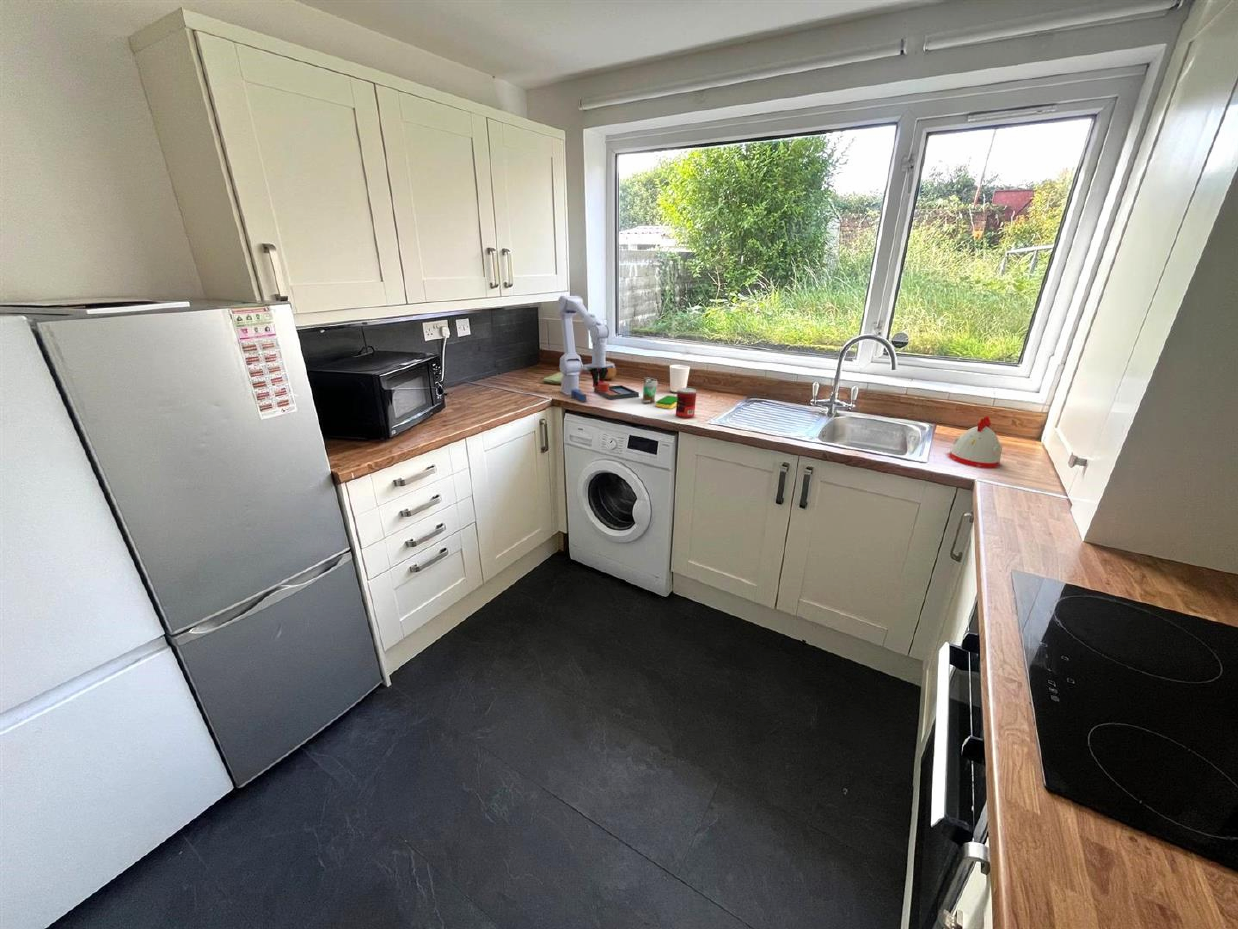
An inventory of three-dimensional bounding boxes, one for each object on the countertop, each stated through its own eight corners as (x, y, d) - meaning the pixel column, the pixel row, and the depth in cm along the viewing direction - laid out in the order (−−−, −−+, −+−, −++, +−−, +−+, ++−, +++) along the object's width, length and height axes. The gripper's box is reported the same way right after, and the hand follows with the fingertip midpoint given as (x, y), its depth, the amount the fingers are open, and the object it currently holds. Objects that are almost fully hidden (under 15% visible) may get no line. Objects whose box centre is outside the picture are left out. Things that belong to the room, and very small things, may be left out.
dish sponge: (655, 406, 219) (656, 401, 218) (666, 400, 231) (667, 395, 230) (670, 409, 216) (671, 403, 215) (681, 402, 228) (681, 397, 227)
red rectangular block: (601, 392, 212) (601, 384, 211) (590, 387, 221) (590, 379, 220) (610, 392, 214) (611, 384, 213) (599, 386, 223) (599, 378, 222)
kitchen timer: (941, 457, 169) (953, 414, 163) (959, 450, 176) (972, 409, 171) (988, 470, 158) (1003, 425, 153) (1005, 462, 166) (1020, 419, 160)
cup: (691, 391, 248) (693, 366, 244) (682, 395, 241) (684, 369, 236) (673, 388, 253) (675, 363, 249) (664, 392, 245) (666, 366, 241)
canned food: (695, 414, 209) (698, 388, 205) (692, 419, 202) (694, 392, 198) (677, 412, 211) (679, 386, 207) (673, 417, 204) (675, 390, 200)
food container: (657, 405, 222) (658, 382, 218) (643, 404, 222) (644, 382, 218) (656, 398, 233) (657, 377, 230) (642, 397, 233) (644, 376, 230)
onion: (596, 381, 265) (596, 362, 261) (600, 377, 274) (600, 359, 270) (614, 382, 263) (614, 363, 260) (617, 378, 273) (618, 360, 269)
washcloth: (541, 383, 256) (541, 376, 255) (559, 377, 271) (559, 371, 270) (563, 386, 251) (563, 380, 250) (580, 380, 266) (580, 374, 264)
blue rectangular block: (578, 395, 233) (578, 388, 232) (588, 401, 224) (588, 394, 222) (569, 396, 231) (569, 389, 230) (579, 402, 222) (579, 395, 220)
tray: (610, 399, 228) (610, 395, 227) (594, 391, 242) (594, 387, 241) (638, 396, 235) (639, 392, 234) (621, 389, 249) (621, 385, 248)
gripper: (587, 356, 207) (587, 388, 212) (618, 354, 214) (617, 385, 219) (580, 353, 213) (580, 384, 218) (610, 352, 219) (609, 382, 224)
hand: (598, 385), depth 219 cm, fingers closed on red rectangular block, 2 cm apart
